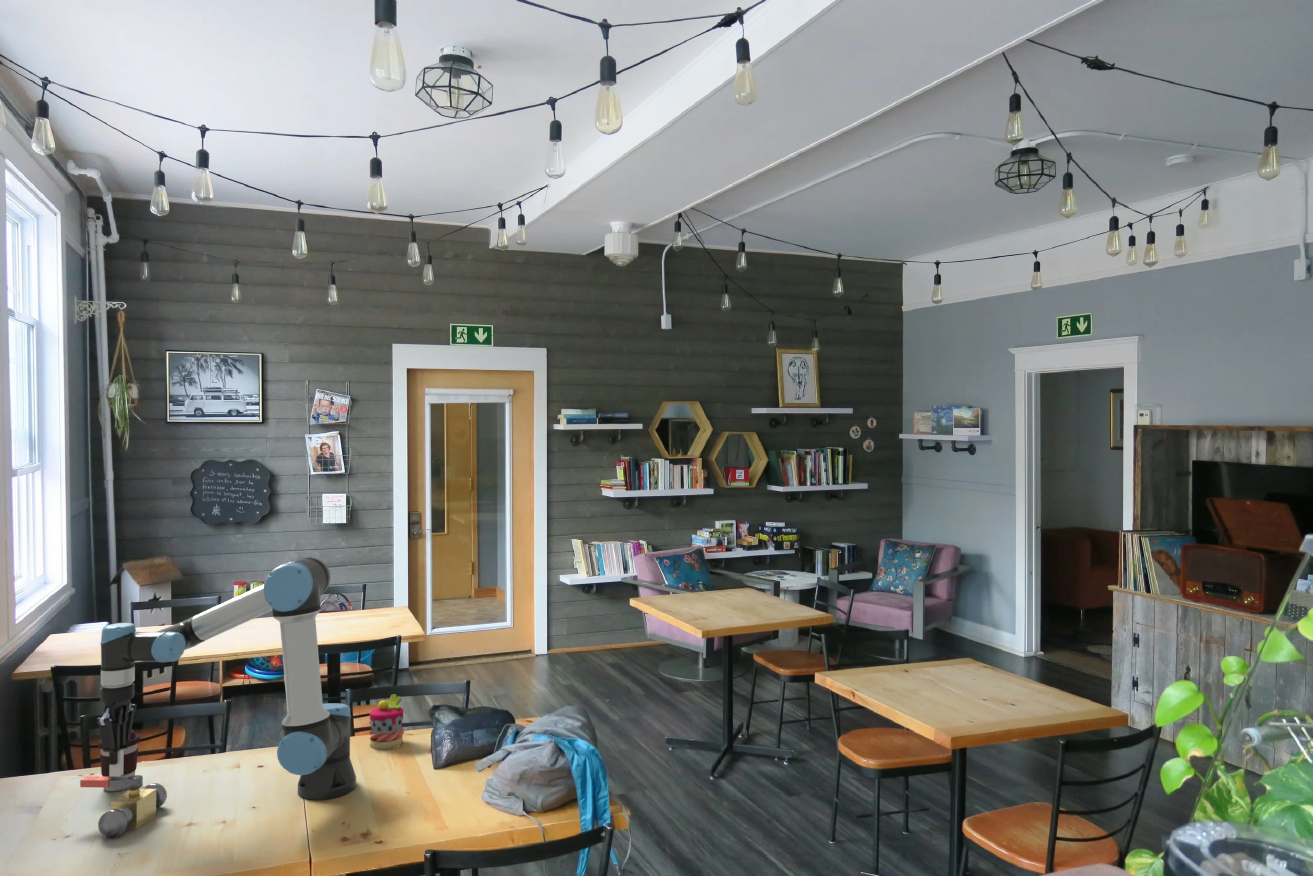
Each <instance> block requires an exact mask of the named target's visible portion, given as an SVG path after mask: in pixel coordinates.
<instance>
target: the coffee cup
mask: <svg viewBox="0 0 1313 876" xmlns="http://www.w3.org/2000/svg"><path fill="white" fill-rule="evenodd" d="M139 743H141V734H139V733H137V732H135V730H134V729H132V732H131V738H130V742H129V743H127V744H126V745H129V746H128V748H124V763H123V775H121V776H120V777H130V776H135V775H136V770H137V766H138V757H139V756H138V755H139V754H138V753H139V747H138V745H139ZM97 747H98V748H99V750H100V754H99V755H100V756H99V758H100V770H101V772H100V773H101V777H119V776H109V752H103V747H102V741H101V738H100V739H99V740H98V741H97ZM103 790H104V791H105V792H119V791H120V792H121V791H124V790H127V789H126V787H108V788H103Z"/></svg>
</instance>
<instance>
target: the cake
mask: <svg viewBox="0 0 1313 876" xmlns="http://www.w3.org/2000/svg"><path fill="white" fill-rule="evenodd" d="M401 701H402V696H397V694H391V695H390V697H389V699H384V700H380V701H379V702H378V705H377V707H374V708H372V709H371V710H370V711H369V720H370V721H369V727H370V729H369V731H368V734H369V735H370V737H369V747H370V748H371V749H372V748H373V750H378V751H387V750H391V749H390V748H393V749H395V748H394V747H396V748H398V747H397V746H399V745H400V746H402V745H403V735H404V733H405V729H404V727H403V726H404V723H403V721H404V708H403V707H402V706H401V705H400V703H401ZM401 744H402V745H401ZM400 746H399V747H400ZM386 749H387V750H386Z"/></svg>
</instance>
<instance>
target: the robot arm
mask: <svg viewBox="0 0 1313 876" xmlns="http://www.w3.org/2000/svg"><path fill="white" fill-rule="evenodd" d="M330 583H331V572H330V570H329V567H328V566H327V565H326V563H325V562H324V561H322V560H321V559H319V558H316V557H310V556H305V557H301V558H298V559H295V560H292V561H289V562H284V563H282V564H280V565H278V566H276V567H275V568H274V569H272V570H271V571H270V572H269V574H267V576H266V577H265V580H264V583H263V584H262V585H258V586H257V587H255V588H252V589H250V590H248V591H246V592H244V593H242V594H240V595H237V596H235V597H233V598H231V599H229V600H227V601H224V602H222V603H220V604H218V605H215V606H212V607H211V608H209V609H207V610H204V611H202V612H200V613H197V614H195V615H194V616H191V617H189V618H186V619H185V620H183V621H180V622H178V623H175V624H174V625H171V626H168V627H165V628H162V629H160V630H157V631H148V632H145V631H137V629H136V625H135V624H134V623H131V622H118V623H112V624H108V625H106V626H104V627H103V628H102V630H101V636H100V637H101V640H100V643H99V644H100V655H101V656H100V664H101V665H100V686H101V687H100V689H99V690H100V692H99V693H100V694H99V697H100V698H99V700H100V702H102V703H103V704H104V706H103V707H104V708H103V715H102V716H101V717H98V718H96V723H97V725H98V727H99V734H100V739H101V741H102V747H103V752H109V776H119V777H120V776H121V775H123V763H124V748H128V746H129V745H126V744H127V743H129V742H130V738H131V732H132V730H133V723H134V716H135V713H136V710H137V707H138V706H137V704H136V703H132V702H131V699H133V698H134V697H135V683H134V682H135V680H136V679H135V678H136V677H135V676H136V673H135V671H136V667H135V666H136V665H135V664H136V663H135V662H138V663H142V662H146V663H147V662H148V663H168V662H170V663H171V662H177V661H178V660H179V659H181V656H183V654H184V652H185V651H186V650H189V649H191V648H193V647H196V646H198V645H199V644H202V643H203V642H206V641H208V640H210V639H212V638H214V637H218V635H219V636H220V635H221V634H223V633H225V632H228V631H230V630H232V629H235V628H237V627H238V626H242V625H243V624H245V623H248V622H250V621H252V620H254V619H256V618H258V617H259V618H260V617H261V616H262V615H265V614H267V613H269V612H271V613H272V618H273V619H275V620H276V621H277V622H279V625H280V626H279V627H280V628H279V629H280V638H281V639H280V641H281V649H282V662H283V663H282V664H283V673H284V675H283V677H284V686H285V689H284V690H285V698H286V710H287V711H286V712H287V715H286V716H285V717H284V718H283V720H281V728H282V739H281V740H280V741H279V744H278V747H277V748H276V749H277V750H276V755H277V760H278V764H280V766H281V767H282V768H283V769H284V770H285V771H287V772H288V773H290V774H293V775H296V776H300V777H299V779H298V782H297V795H298V796H299V797H300V798H303V799H306V800H307V799H308V800H327V799H334V798H338V797H342V796H344V795H347V794H348V793H350V792H352V791H353V790H354V789H355V788H356V787H357V775H356V772H355V770H354V767H353V763H352V760H351V757H350V756H351V753H350V752H351V718H352V716H351V708H350V706H349V705H348V704H345V703H339V702H337V703H336V702H335V703H333V702H331V703H323V693H322V681H321V680H322V679H321V670H320V669H321V668H320V659H319V658H320V657H319V645H318V636H317V635H318V634H317V632H318V631H317V624H316V623H317V620H316V618H317V615H318V614H319V613H320V612H322V611H321V610H322V607H321V597H322V596H323V594H324V593H325V592H326V591H327V590H328V588H329V587H330Z"/></svg>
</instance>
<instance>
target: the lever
mask: <svg viewBox="0 0 1313 876" xmlns="http://www.w3.org/2000/svg"><path fill="white" fill-rule="evenodd" d="M143 778H144V777H143V775H142V774H139V775H138V774H137V775H136V774H135V776H130V777H103V776H101V775H100V776H85V777H83V778H80V780H79V783H80V784H79V787H80V788H103V789H104V788H108V787H126V789H125V790H127V791H129V790H132V789H137V788H140V789H141V788H142V787H143V785H144V782H143V781H144V779H143Z"/></svg>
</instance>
